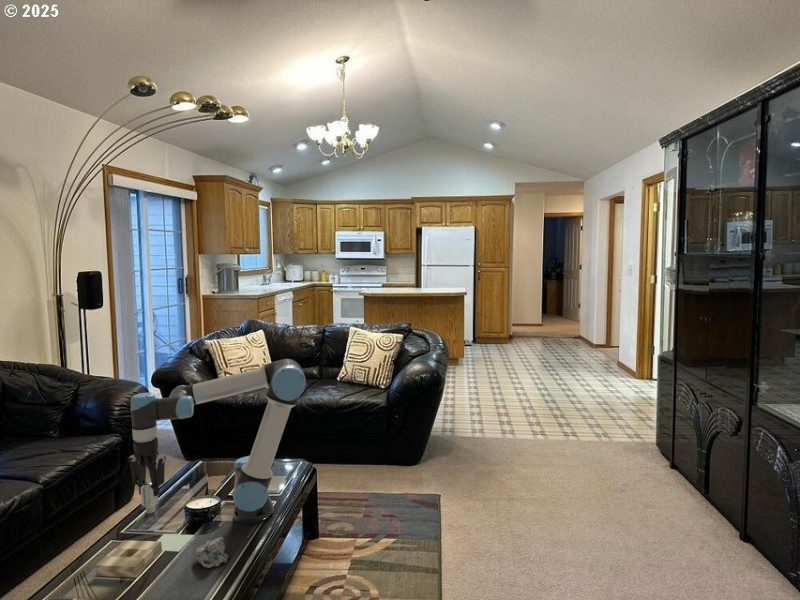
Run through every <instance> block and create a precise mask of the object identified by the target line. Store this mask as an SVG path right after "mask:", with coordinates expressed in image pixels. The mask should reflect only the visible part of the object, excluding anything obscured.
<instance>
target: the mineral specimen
mask: <svg viewBox="0 0 800 600" xmlns="http://www.w3.org/2000/svg"><path fill="white" fill-rule="evenodd" d="M226 548H227V547H226V545H225V539H224V537H222V536H220V537H217V538H215V539H210V540H206V542H205V543H204V544H202V545H200V546H198V547H197V548H196V549H195V550H196V551H195V553H194V554H195V555H196V558H195V561H197V563H199V564H200V565H202V566H203V568H208V569H211V568H213V567H216V568H217V567H219V566H220V565H221V564H222V563H224V564H227V562H228V559H229V555H228V553H226V551H225V550H226Z"/></svg>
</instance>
